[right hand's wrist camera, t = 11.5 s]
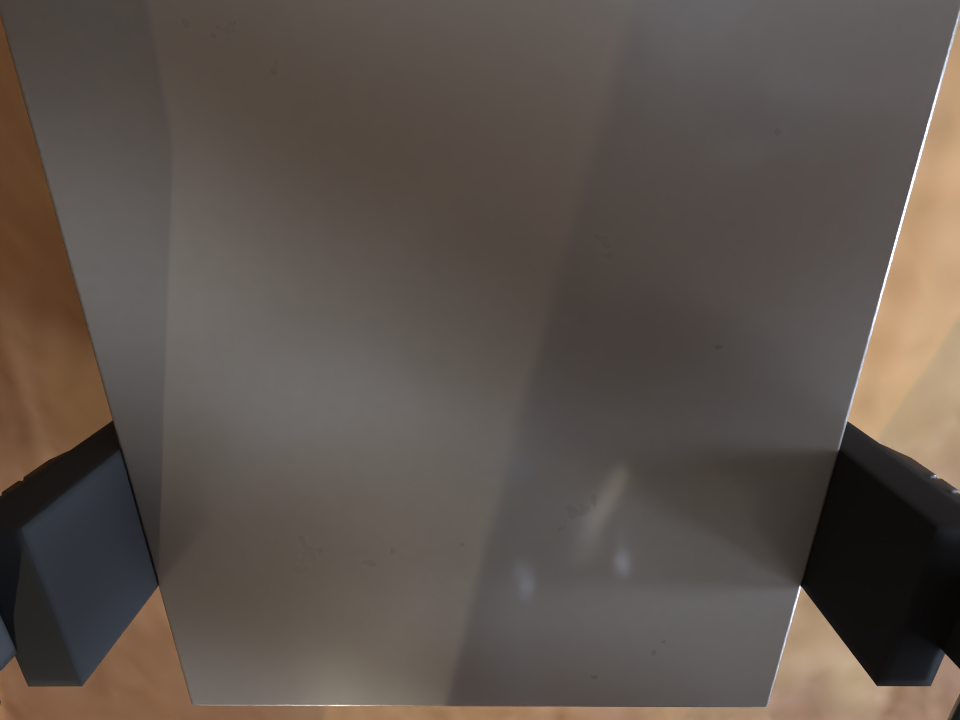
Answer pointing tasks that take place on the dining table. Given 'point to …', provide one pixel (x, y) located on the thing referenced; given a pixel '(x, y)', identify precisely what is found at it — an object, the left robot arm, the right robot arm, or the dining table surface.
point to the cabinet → (480, 323)
